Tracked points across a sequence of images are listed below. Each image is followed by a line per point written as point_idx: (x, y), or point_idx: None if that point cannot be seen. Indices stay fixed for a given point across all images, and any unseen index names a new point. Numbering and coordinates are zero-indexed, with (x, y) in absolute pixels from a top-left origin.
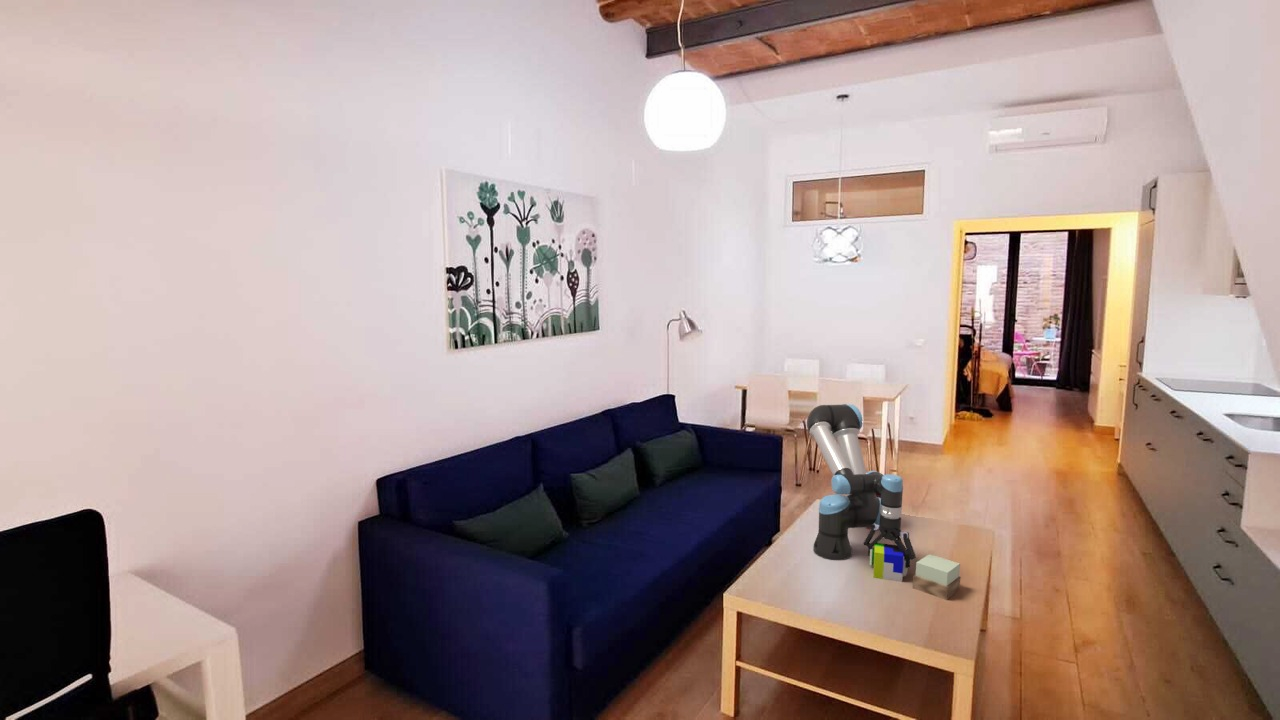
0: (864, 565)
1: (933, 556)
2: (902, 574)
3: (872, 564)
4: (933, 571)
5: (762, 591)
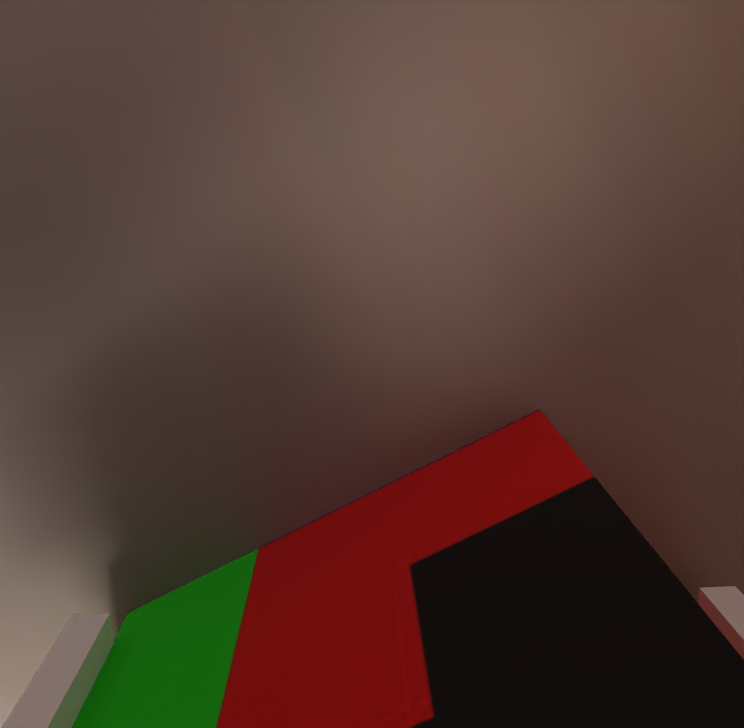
0: (3, 676)
1: None
2: None
3: None
4: None
5: None
